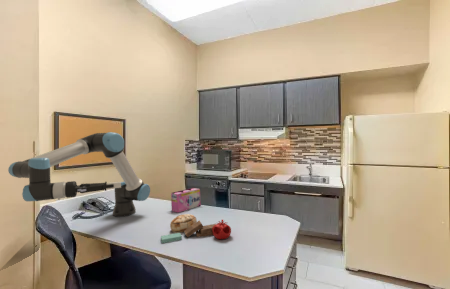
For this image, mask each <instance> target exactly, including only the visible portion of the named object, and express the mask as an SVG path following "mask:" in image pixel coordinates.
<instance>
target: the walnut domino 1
mask: <svg viewBox="0 0 450 289" xmlns="http://www.w3.org/2000/svg"><path fill="white" fill-rule="evenodd" d="M203 226H204V225H203V224H202V222H201V220H197V222H196V223H195V224H193V225H192V226H190V227H189V228H187V229H186V230H185V231H184V232H183V233H184V234H185V236H186V238H187V239H188V238H189V237H191V236H192V235H194V234H196V231H199V229H201V228H202V227H203Z"/></svg>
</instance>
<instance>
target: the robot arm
mask: <svg viewBox="0 0 450 289" xmlns="http://www.w3.org/2000/svg"><path fill="white" fill-rule="evenodd" d="M124 150H125V139H124V138H123V136H122V135H121V134H120V133H117V132H111V131H108V132H96V133H92V134H89V135H85V136H84V137H82V138H79V139H76V141H75V142H73V143H71V144H68V145H65V146H61V147H58V148H56V149H54V150H51V151H48V152H45V153H42V154H40V155H36V156H34V157H31V158H28V159H26V160H23V161H21V160H20V161H19V160H18V161H15V162H13V163H11V164H10V165H9V167H8V169H7V170H8V174H9V175H10V176H12V177H13V178H14V177H15V178H18V179H21V178H22V179H23V178H25V179H28V182H29V184H25V185H24V186H23V189H22V193H21V196H22V199H23V201H25V202H41V201H49V200H56V199H57V200H59V201H60V200H61V199H64V198H67V199H69V198H76V197H77V193H80V194H86V193H91V192H100V191H107V190H112V189H114V204H115V205H114V207H113V211H112V216H114V217H119V218H120V217H127V216H132V215H134V214H135V213H136V207H135V204H134V202H133V201H138V202H143V201H146V200H147V199H148V198H149V197H150V194H151V187H150V185H149V184H148V183H145V182H144V181H143V180H142V178H139V177H138V175H137V173H136V172H135V170H134V168H133V166H132V164H131V163H130V161H129V159H128V158H127V156H126V154H125V153H124ZM98 152H99V153H103V155H104V156H105V158H106V159H110V161H111V163H112V164H113V166H114V167H115V169H116V171H117V173H119V176H120V177H121V179H122V180H123V181H116V182H115V181H114V182H107V181H105V182H95V183H94V182H93V183H81V184H79V185H78V183H77V181H74V180H73V181H72V180H71V181H67V182H65V181H59V182H51V167H53V166H56V165H59V164H61V163H64V162H67V161H68V160H71V159H73V158H75V157H78V156H80V155H87V154H90V153H98Z"/></svg>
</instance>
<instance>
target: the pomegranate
mask: <svg viewBox="0 0 450 289" xmlns="http://www.w3.org/2000/svg"><path fill="white" fill-rule="evenodd" d="M214 224H216V225H214V226H213V228H212V231H213V235H212V236H214V238H215V239H217V240H225V239H229V237H230V236H231V234H232V228H231V226H230V225H229V224H228V222H225V220H224V219H221V221H220V220H218V221H217V222H216V223H214Z"/></svg>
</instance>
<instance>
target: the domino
mask: <svg viewBox="0 0 450 289" xmlns="http://www.w3.org/2000/svg"><path fill="white" fill-rule="evenodd" d="M182 240H183V236H182V233H170V234H166V235H161V236H160V242H161V243H162V244H165V243H171V242H175V241H182Z"/></svg>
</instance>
